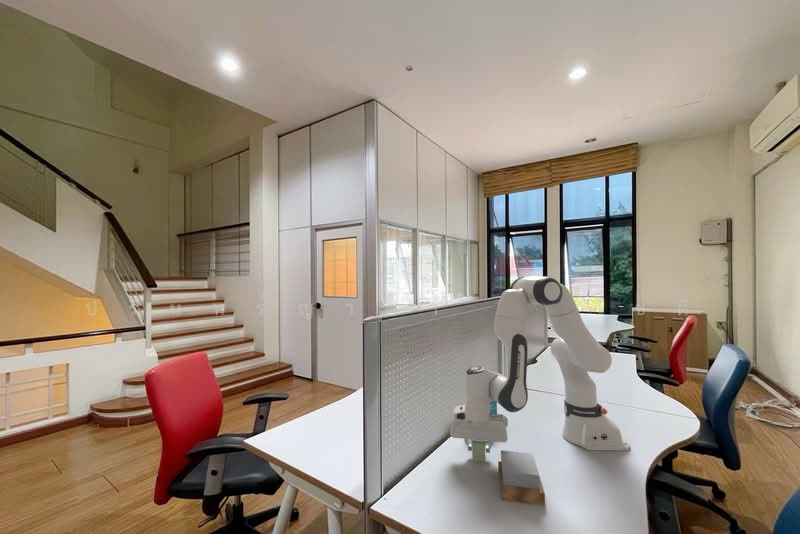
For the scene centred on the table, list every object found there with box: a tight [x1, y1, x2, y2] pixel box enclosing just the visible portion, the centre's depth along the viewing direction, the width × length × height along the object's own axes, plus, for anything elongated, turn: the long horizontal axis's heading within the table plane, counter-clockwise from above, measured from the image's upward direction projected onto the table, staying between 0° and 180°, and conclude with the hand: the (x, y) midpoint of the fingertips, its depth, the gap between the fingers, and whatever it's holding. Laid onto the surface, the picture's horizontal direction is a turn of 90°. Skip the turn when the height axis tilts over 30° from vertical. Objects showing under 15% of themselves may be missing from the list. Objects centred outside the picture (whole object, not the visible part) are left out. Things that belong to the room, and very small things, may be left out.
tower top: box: [500, 450, 540, 490], centre depth 101 cm, size 10×12×4 cm
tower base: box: [497, 460, 546, 507], centre depth 101 cm, size 12×14×4 cm
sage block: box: [471, 439, 486, 463], centre depth 118 cm, size 4×4×6 cm
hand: (478, 451), depth 118 cm, fingers open, 5 cm apart
